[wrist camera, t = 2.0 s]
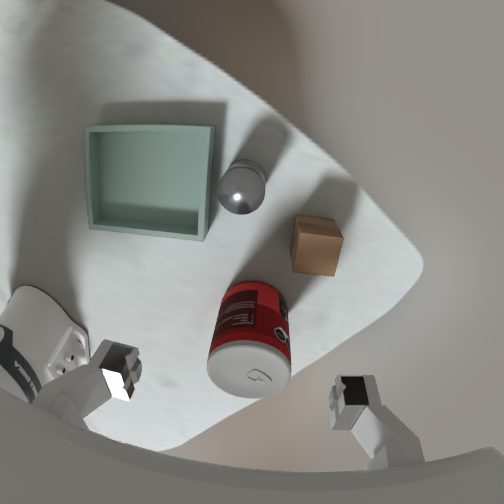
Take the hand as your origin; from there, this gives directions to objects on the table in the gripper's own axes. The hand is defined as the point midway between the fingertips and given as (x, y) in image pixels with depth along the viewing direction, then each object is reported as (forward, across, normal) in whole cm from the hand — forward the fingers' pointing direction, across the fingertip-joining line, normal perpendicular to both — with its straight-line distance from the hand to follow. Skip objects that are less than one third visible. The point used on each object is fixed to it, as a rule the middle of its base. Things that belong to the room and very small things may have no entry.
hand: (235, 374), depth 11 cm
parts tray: (+21, +12, -2) cm, 25 cm away
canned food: (+22, 0, +13) cm, 25 cm away
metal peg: (+22, +2, -2) cm, 22 cm away
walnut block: (+22, -5, +3) cm, 23 cm away
